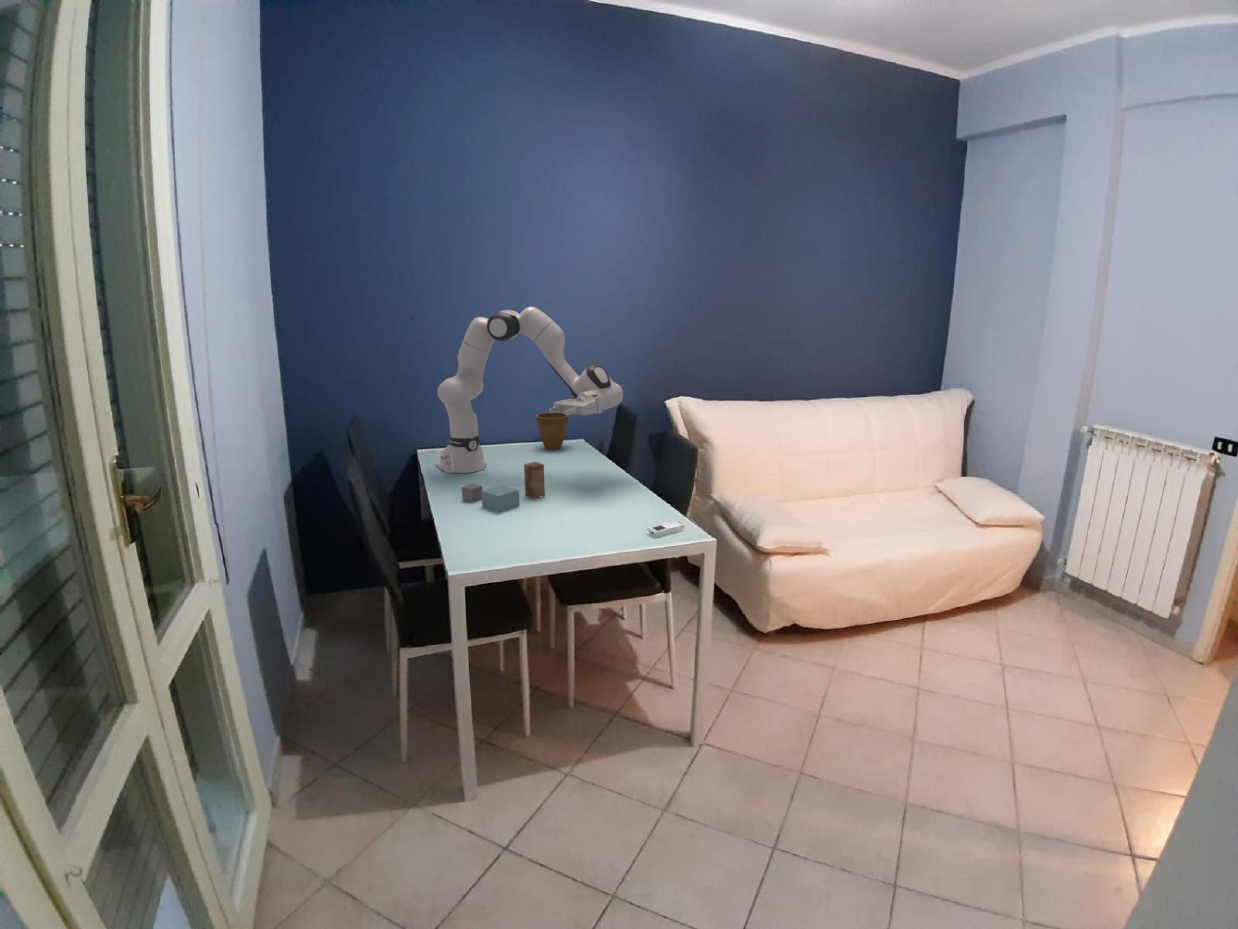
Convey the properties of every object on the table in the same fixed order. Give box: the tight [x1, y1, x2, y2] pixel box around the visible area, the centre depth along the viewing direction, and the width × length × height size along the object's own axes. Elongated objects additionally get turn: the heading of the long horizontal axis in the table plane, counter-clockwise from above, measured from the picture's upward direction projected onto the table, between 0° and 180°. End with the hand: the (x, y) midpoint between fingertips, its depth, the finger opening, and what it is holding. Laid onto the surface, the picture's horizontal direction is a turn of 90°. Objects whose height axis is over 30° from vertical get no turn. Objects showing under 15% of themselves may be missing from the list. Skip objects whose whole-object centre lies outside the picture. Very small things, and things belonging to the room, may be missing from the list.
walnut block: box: [523, 461, 546, 500], centre depth 220 cm, size 5×5×12 cm
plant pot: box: [535, 412, 569, 451], centre depth 286 cm, size 15×15×16 cm
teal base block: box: [481, 484, 520, 513], centre depth 211 cm, size 9×9×6 cm
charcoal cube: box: [461, 483, 483, 504], centre depth 218 cm, size 5×5×5 cm
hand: (557, 412), depth 223 cm, fingers open, 8 cm apart
